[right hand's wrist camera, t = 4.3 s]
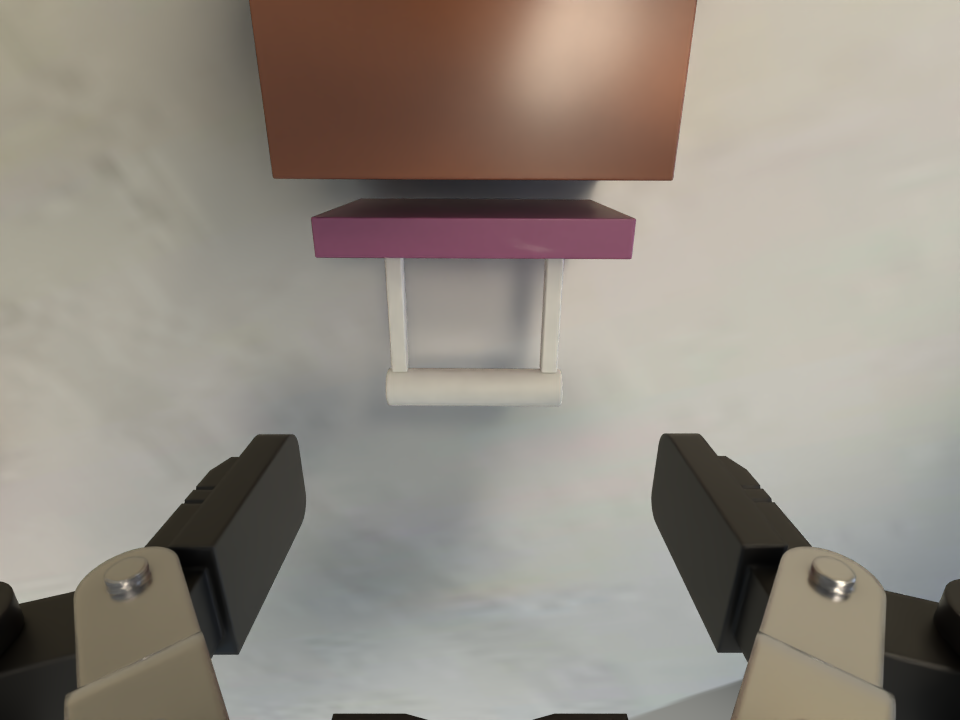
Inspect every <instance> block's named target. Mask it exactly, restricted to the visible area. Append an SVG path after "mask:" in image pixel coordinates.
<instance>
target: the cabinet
mask: <svg viewBox="0 0 960 720" xmlns="http://www.w3.org/2000/svg"><path fill="white" fill-rule="evenodd" d="M249 4H250V11H251V18H252V26H253V33H254V41H255V48H256V55H257V63H258V70H259V78H260V85H261V92H262V100H263V107H264V115H265V122H266V129H267V137H268V144H269V152H270V159H271V166H272V174H273V178H274V179H428V180H639V181H671V180H673V176H674V168H675V161H676V154H677V146H678V139H679V131H680V124H681V116H682V109H683V101H684V94H685V87H686V79H687V72H688V64H689V57H690V49H691V42H692V34H693V27H694V20H695V12H696V5H697V0H249Z"/></svg>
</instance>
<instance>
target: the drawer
mask: <svg viewBox="0 0 960 720" xmlns="http://www.w3.org/2000/svg"><path fill="white" fill-rule="evenodd" d="M311 223H312V232H313V241H314V250H315V257H317V258H385V273H386V289H387V305H388V320H389V336H390V352H391V368H390V369H389V370H388V372H387V376H386V400H387V403H388V405H390V406H560V405H561V402H562V394H563V382H562V374H561V371H560V370H559V369H557V362H558V346H559V331H560V315H561V300H562V284H563V269H564V259H631V258H632V251H633V242H634V233H635V224H636V219H634V218H632V217H630V216H627V215H625V214H623V213H620V212H618V211H616V210H613V209H611V208H608V207H606V206H604V205H601V204H599V203H597V202H594V201H592V200H555V199H359V200H356V201H353V202H351V203H348V204H346V205H343V206H340V207H338V208H335V209H332V210H330V211H327V212H324V213H322V214H319V215H316V216H314V217H311ZM404 258H493V259H545V270H544V290H543V310H542V329H541V349H540V369H466V368H409V352H408V332H407V312H406V292H405V272H404Z"/></svg>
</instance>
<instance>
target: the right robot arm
mask: <svg viewBox="0 0 960 720" xmlns="http://www.w3.org/2000/svg"><path fill="white" fill-rule="evenodd" d="M651 502H652V511H653V516H654V520H655V522H656V525H657V527H658V529H659V531H660V533H661V535H662V537H663V539H664V541H665V543H666V545H667V548H668V550H669V552H670V554H671V556H672V558H673V560H674V562H675V564H676V566H677V568H678V571H679V573H680V575H681V577H682V579H683V581H684V583H685V585H686V587H687V589H688V591H689V594H690V596H691V598H692V600H693V602H694V604H695V606H696V608H697V610H698V612H699V614H700V617H701V619H702V621H703V623H704V625H705V627H706V629H707V631H708V633H709V635H710V637H711V640H712V642H713V644H714V646H715V648H716V650H717V652H718V653H743V654H744V656H745V658H746V660H747V662H748V665H747V668H746V671H745V674H744V678H743V681H742V684H741V687H740V691H739V694H738V697H737V700H736V704H735V707H734V710H733V713H732V717H731V720H960V579H958V580H954V581H952V582H949V583H948V584H947V585H946V588H945V590H944V592H943V595H942V597H941V599H940V602H939V603H938V602H934V601H929V600H925V599H920V598H916V597H911V596H907V595H902V594H898V593H893V592H889V591H885V590H884V588H883V587H882V585H881V584H880V582H879V581H878V580H877V579H876V578H875V576H874V575H872V574H871V573H870V572H869V571H868V570H867V569H865V568H864V567H863V566H861V565H860V564H858V563H856V562H855V561H853V560H851V559H849V558H847V557H845V556H843V555H840V554H838V553H836V552H832V551H829V550H826V549H822V548H816V547H812V546H811V545H810V544H809V543H808V541H807V540H806V539H805V538H804V537H803V535H802V534H801V533H800V532H799V531H798V530H797V528H796V527H795V526H794V525H793V524H792V522H791V521H790V520H789V519H788V518H787V517H786V515H785V514H784V513H783V512H782V511H781V510H780V508H779V507H778V506H777V505H776V504H775V502H772V501H771V498H770V497H769V495H768V494H767V493H766V492H765V491H764V489H761V488H760V485H759V484H758V482H757V481H756V480H755V479H754V478H753V477H752V475H751V474H750V473H749V472H748V471H747V470H746V469H745V468H743V467H742V466H740V465H739V464H737V463H735V462H734V461H732V460H731V459H729V458H728V457H726V456H717V454H716V453H715V452H714V451H713V449H712V448H711V447H710V446H709V444H708V443H707V442H706V441H705V439H704V438H703V437H702V436H701V435H700V434H663V435H662V436H661V438H660V441H659V446H658V453H657V460H656V467H655V473H654V480H653V487H652V496H651ZM305 508H306V492H305V486H304V479H303V472H302V465H301V458H300V452H299V445H298V441H297V438H296V437H295V436H294V435H293V434H259V435H257V436H256V437H255V438H254V439H253V440H252V441H251V443H250V444H249V445H248V446H247V448H246V449H245V450H244V451H243V453H242V454H241V455H240V456H239V457H231V458H229V459H228V460H226V461H224V462H223V463H221V464H220V465H218V466H217V467H215V468H213V469H212V470H210V471H209V472H208V474H207V475H206V476H205V477H204V478H203V479H202V481H201V482H200V483H199V484H198V485H197V486H196V490H193V491H192V492H191V493H190V495H189V496H188V497H187V498H186V499H185V503H184V504H181V505H180V506H179V508H178V509H177V510H176V511H175V512H174V513H173V515H172V516H171V517H170V518H169V519H168V520H167V522H166V523H165V524H164V525H163V526H162V527H161V529H160V530H159V531H158V532H157V533H156V534H155V536H154V537H153V538H152V539H151V540H150V541H149V543H148V544H147V545H146V546H145V547H144V548H138V549H134V550H131V551H128V552H124V553H122V554H120V555H117V556H115V557H113V558H111V559H109V560H107V561H105V562H104V563H102V564H100V565H99V566H97V567H96V568H95V569H93V570H92V571H91V572H90V573H89V574H88V575H86V576H85V578H84V579H83V580H82V581H81V582H80V584H79V585H78V587H77V588H76V591H74V592H70V593H66V594H61V595H57V596H52V597H48V598H43V599H39V600H35V601H30V602H26V603H21V604H19V603H18V601H17V599H16V596H15V594H14V592H13V589H12V587H11V586H10V585H9V584H7V583H4V582H0V720H229V717H228V713H227V710H226V707H225V704H224V700H223V697H222V694H221V691H220V687H219V684H218V681H217V678H216V674H215V671H214V668H213V665H212V661H211V658H212V656H213V655H238V654H239V652H240V650H241V648H242V646H243V644H244V642H245V640H246V638H247V636H248V634H249V632H250V630H251V628H252V625H253V623H254V621H255V619H256V617H257V615H258V613H259V611H260V609H261V607H262V605H263V603H264V601H265V599H266V597H267V594H268V592H269V590H270V588H271V586H272V584H273V582H274V580H275V578H276V576H277V574H278V572H279V570H280V568H281V566H282V563H283V561H284V559H285V557H286V555H287V553H288V551H289V549H290V547H291V545H292V543H293V541H294V539H295V537H296V535H297V532H298V530H299V528H300V526H301V524H302V522H303V519H304V514H305ZM332 720H426V719H423V718H419V717H415V716H412V715H408V714H333V717H332ZM534 720H628V717H627V714H552V715H548V716H545V717H541V718H537V719H534Z"/></svg>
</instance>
